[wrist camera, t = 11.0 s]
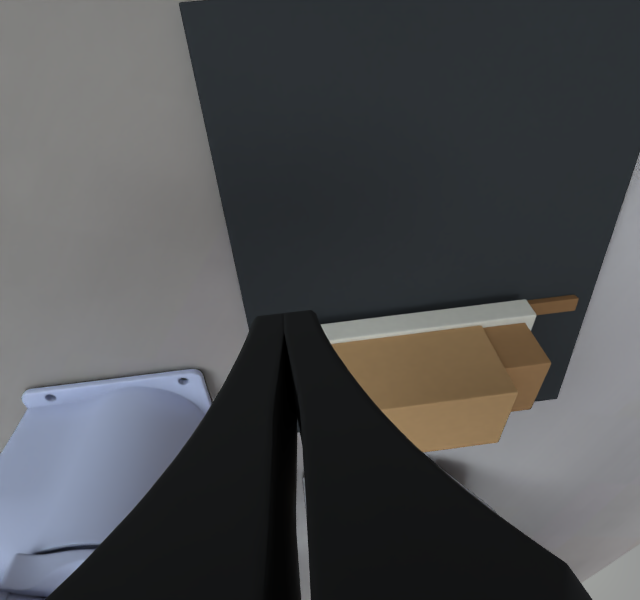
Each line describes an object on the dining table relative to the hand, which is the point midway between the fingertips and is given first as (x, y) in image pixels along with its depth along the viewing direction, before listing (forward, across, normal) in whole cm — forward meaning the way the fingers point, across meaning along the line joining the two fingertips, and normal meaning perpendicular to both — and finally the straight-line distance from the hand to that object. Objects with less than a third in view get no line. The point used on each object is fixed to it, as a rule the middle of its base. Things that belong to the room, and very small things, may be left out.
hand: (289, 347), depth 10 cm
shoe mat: (+10, -7, +4) cm, 13 cm away
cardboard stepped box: (+7, -6, +7) cm, 11 cm away
